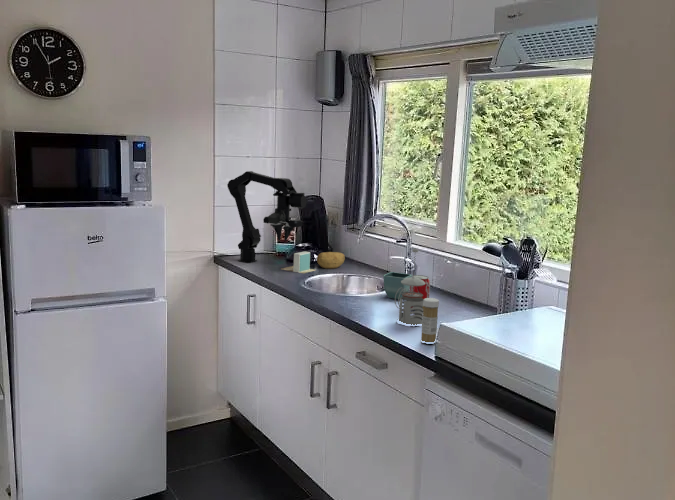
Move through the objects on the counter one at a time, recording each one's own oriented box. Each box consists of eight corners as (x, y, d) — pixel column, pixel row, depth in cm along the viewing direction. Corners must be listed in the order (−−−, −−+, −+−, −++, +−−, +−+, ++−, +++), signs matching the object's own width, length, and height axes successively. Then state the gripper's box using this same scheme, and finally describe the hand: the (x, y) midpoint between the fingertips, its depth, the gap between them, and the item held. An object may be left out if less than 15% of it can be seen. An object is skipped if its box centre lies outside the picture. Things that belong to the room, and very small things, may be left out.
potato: (349, 269, 287) (350, 252, 286) (323, 272, 280) (324, 254, 278) (337, 265, 295) (338, 249, 294) (312, 268, 288) (312, 250, 286)
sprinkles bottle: (431, 340, 189) (434, 297, 187) (438, 345, 185) (441, 300, 183) (417, 341, 188) (420, 297, 186) (424, 346, 184) (428, 301, 181)
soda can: (423, 313, 219) (425, 279, 217) (405, 309, 223) (407, 276, 221) (431, 309, 225) (433, 276, 223) (413, 305, 229) (415, 273, 227)
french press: (431, 324, 206) (437, 249, 202) (404, 329, 199) (410, 252, 195) (411, 317, 214) (416, 245, 209) (385, 321, 207) (389, 247, 203)
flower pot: (389, 293, 246) (391, 271, 244) (411, 297, 242) (412, 274, 240) (381, 298, 238) (382, 275, 236) (403, 301, 234) (404, 278, 232)
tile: (293, 271, 274) (294, 253, 273) (304, 268, 281) (304, 251, 279) (299, 272, 272) (299, 254, 271) (309, 269, 279) (310, 252, 278)
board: (279, 270, 278) (279, 269, 278) (293, 267, 287) (293, 265, 286) (303, 275, 271) (303, 273, 271) (316, 271, 280) (316, 270, 280)
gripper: (256, 205, 282) (255, 239, 285) (289, 209, 273) (287, 244, 275) (271, 204, 292) (270, 237, 294) (304, 207, 282) (302, 242, 284)
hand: (282, 240), depth 287 cm, fingers open, 3 cm apart
